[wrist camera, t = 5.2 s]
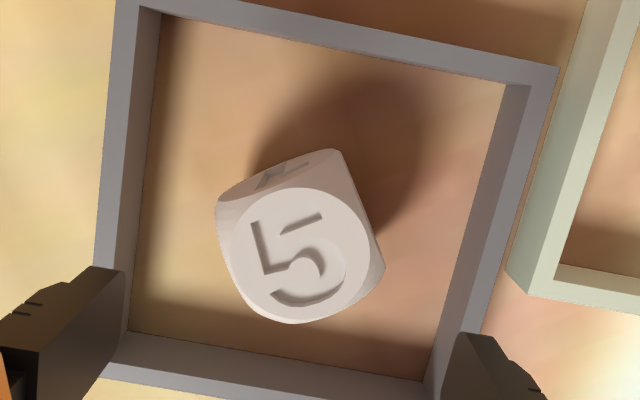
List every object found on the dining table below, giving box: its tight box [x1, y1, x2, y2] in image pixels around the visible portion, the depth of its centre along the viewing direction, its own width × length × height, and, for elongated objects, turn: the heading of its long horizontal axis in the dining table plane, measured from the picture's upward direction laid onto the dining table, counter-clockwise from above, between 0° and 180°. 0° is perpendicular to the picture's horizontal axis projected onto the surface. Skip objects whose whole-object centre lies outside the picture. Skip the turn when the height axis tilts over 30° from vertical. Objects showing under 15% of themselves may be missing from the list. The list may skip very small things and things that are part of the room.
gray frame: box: [93, 0, 561, 400], centre depth 20 cm, size 16×16×2 cm
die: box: [215, 148, 386, 324], centre depth 19 cm, size 5×5×5 cm
